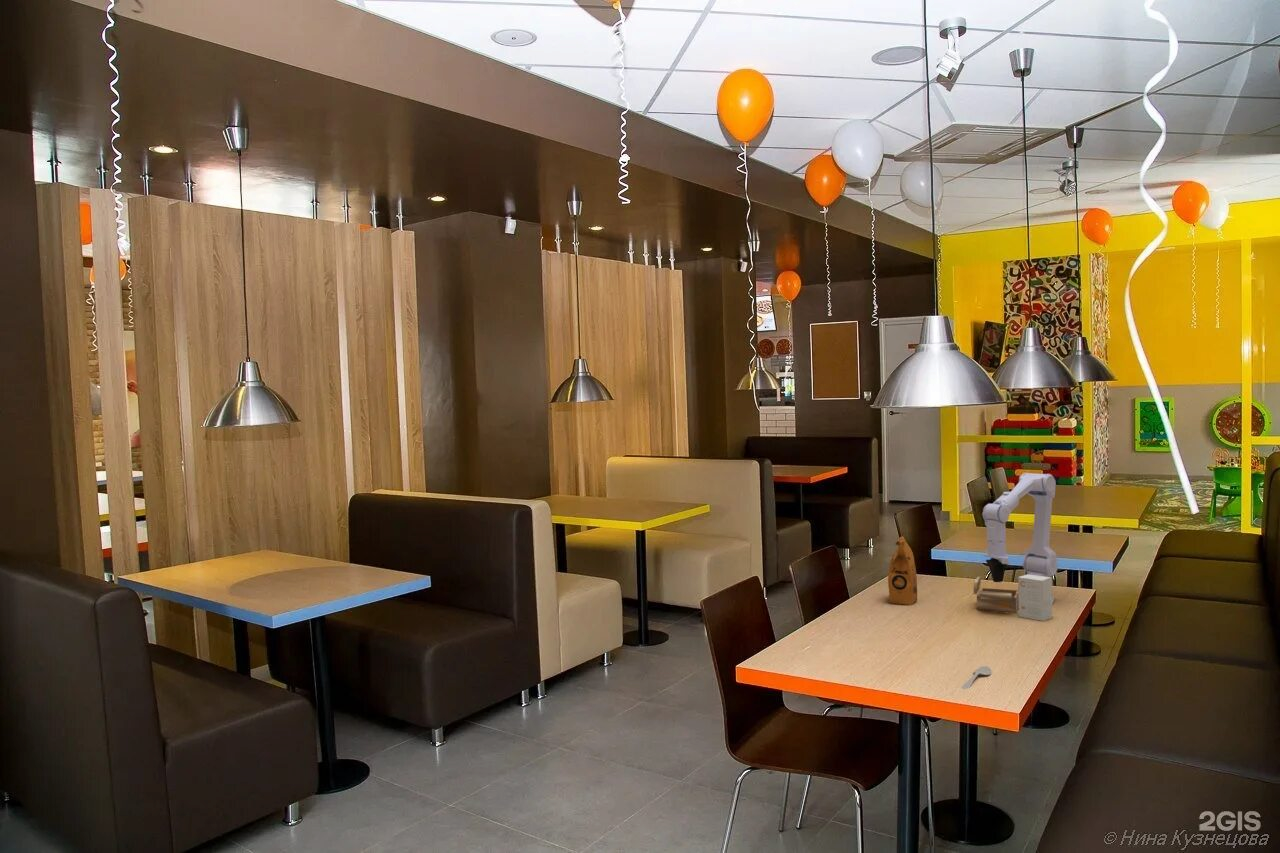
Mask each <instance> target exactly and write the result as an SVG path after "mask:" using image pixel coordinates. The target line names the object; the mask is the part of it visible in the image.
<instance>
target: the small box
mask: <svg viewBox="0 0 1280 853" xmlns="http://www.w3.org/2000/svg"><path fill="white" fill-rule="evenodd" d="M1017 582H1018V584H1017V585H1018V586H1017V587H1018V589H1017V590H1018V592H1019V607H1018V617H1019V618H1023V617H1024V618H1025V619H1030V620H1037V621H1039V622H1041V621H1042V622H1045V621H1047V620H1049V619H1052V618H1053V604H1052V596H1053V581H1052V582H1051V577H1044V576H1036V575H1029V574H1027V573H1026V574H1024V575H1020V576H1017Z"/></svg>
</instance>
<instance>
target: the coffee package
mask: <svg viewBox="0 0 1280 853" xmlns="http://www.w3.org/2000/svg"><path fill="white" fill-rule="evenodd" d="M895 546H897V548H896V550H895V551H894V553H893V555H892V558H891V560H890V562H889V567H888V573H887V574H888V578H887V584H888V594H889V595H888V600H889V602H890V604H892V605H905V606H913V605H914V603H916V602H917V601H918V581H917V578H918V576H917V568H916V563H915V556H914V552H913V551H912V548H911V546H909V544H908V542H907V540H906V539H905V537H904V536H903V535H902V536H900V537H899V538H898V540H897V541H896V542H895Z"/></svg>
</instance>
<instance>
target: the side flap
mask: <svg viewBox="0 0 1280 853" xmlns="http://www.w3.org/2000/svg"><path fill="white" fill-rule="evenodd" d="M981 580H982V576H980V575H979V576H977V577H976V578H975V579H974V582H973V592H972V594H973V595H977V594H978V592H979V591H980V589H981V583H982V582H981Z"/></svg>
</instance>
